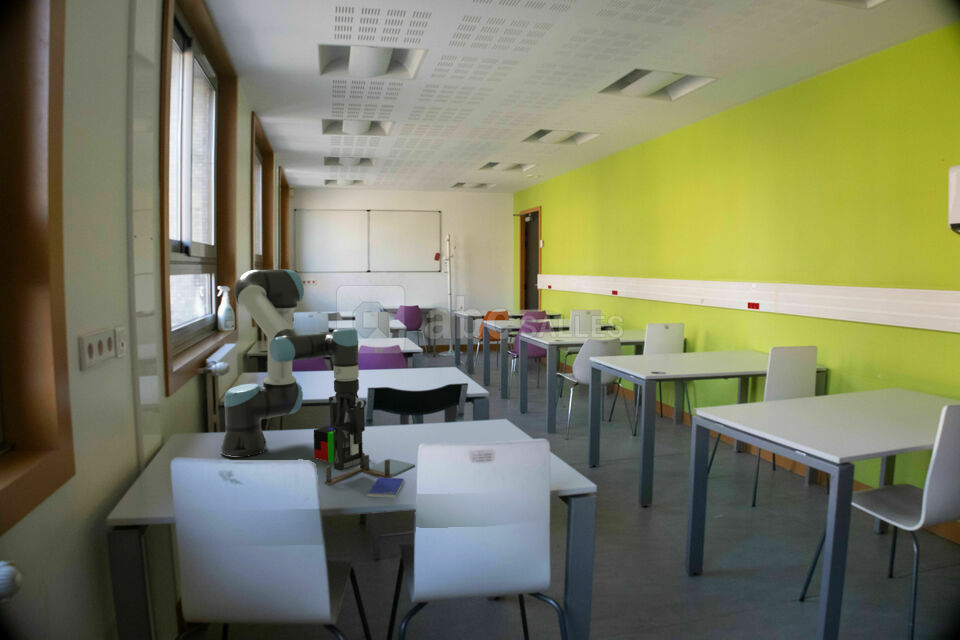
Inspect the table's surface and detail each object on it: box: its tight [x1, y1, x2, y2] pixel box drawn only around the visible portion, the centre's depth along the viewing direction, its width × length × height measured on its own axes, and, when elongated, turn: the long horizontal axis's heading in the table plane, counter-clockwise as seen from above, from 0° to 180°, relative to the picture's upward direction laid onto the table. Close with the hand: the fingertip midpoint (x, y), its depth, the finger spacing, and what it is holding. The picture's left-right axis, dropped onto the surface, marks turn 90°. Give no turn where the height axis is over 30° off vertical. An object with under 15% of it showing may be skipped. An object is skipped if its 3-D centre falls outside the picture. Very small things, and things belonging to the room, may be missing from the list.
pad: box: [369, 458, 416, 477], centre depth 189 cm, size 11×11×1 cm
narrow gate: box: [362, 454, 392, 478], centre depth 183 cm, size 2×10×6 cm, turn 58°
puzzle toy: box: [313, 424, 334, 464], centre depth 200 cm, size 10×10×10 cm
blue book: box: [366, 477, 405, 498], centre depth 171 cm, size 2×8×12 cm
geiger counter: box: [333, 420, 364, 472], centre depth 180 cm, size 10×4×15 cm, turn 142°
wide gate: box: [324, 452, 366, 486], centre depth 181 cm, size 2×16×6 cm, turn 148°
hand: (348, 452), depth 180 cm, fingers closed on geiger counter, 5 cm apart
